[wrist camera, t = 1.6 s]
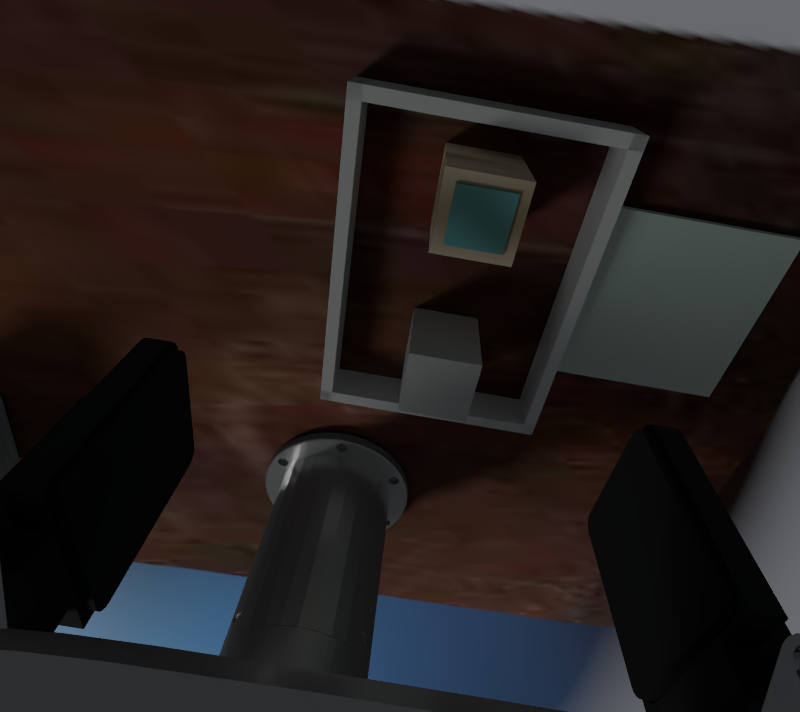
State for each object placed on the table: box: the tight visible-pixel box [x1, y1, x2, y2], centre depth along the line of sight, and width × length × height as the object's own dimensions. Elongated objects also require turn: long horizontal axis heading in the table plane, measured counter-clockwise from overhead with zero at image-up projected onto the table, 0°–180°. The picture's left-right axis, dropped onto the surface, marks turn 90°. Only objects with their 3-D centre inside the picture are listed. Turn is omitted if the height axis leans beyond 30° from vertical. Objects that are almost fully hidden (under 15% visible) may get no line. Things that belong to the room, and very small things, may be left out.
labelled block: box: [429, 142, 536, 267], centre depth 29 cm, size 4×4×6 cm
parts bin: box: [320, 76, 650, 435], centre depth 33 cm, size 21×16×3 cm
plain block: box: [398, 308, 482, 422], centre depth 35 cm, size 4×4×6 cm
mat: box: [557, 206, 800, 397], centre depth 34 cm, size 12×12×1 cm
